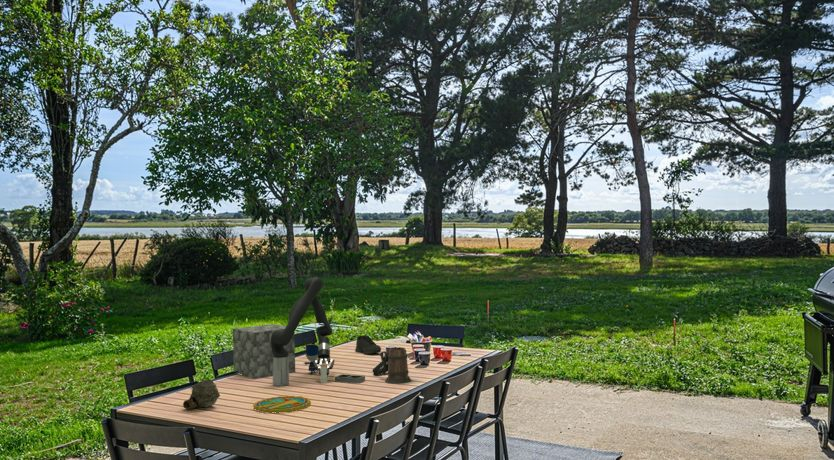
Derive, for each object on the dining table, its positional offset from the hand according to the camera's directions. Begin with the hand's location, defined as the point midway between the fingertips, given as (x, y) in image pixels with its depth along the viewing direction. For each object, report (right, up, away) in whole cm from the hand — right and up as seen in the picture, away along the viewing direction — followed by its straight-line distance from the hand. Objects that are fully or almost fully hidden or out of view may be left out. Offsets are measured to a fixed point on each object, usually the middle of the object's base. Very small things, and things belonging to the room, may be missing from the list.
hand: (323, 374), depth 408 cm
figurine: (-12, -6, +30) cm, 33 cm away
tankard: (+43, -4, +1) cm, 44 cm away
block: (-46, -7, +37) cm, 59 cm away
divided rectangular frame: (+16, -5, +2) cm, 17 cm away
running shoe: (+19, -6, +102) cm, 104 cm away
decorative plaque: (-14, -5, -55) cm, 57 cm away
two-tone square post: (0, -5, +2) cm, 5 cm away
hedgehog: (-60, -6, -54) cm, 81 cm away
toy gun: (+40, -5, +23) cm, 46 cm away
